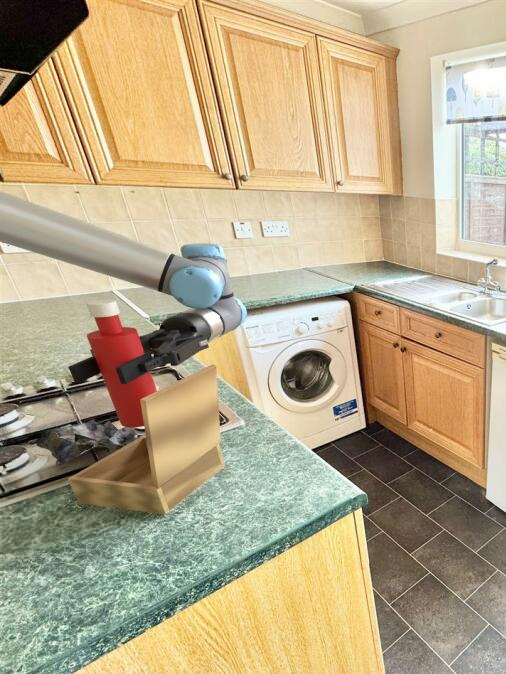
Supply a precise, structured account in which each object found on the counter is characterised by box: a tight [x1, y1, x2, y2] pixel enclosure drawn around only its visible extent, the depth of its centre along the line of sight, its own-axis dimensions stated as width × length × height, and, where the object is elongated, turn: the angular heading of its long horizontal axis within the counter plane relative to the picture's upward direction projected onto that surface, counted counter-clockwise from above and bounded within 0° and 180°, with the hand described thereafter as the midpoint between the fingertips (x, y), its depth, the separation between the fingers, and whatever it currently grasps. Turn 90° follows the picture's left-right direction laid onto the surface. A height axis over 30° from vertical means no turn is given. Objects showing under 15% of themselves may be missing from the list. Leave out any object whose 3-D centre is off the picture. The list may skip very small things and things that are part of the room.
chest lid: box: [140, 364, 222, 488], centre depth 69 cm, size 16×14×1 cm
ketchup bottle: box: [86, 298, 158, 429], centre depth 69 cm, size 6×6×21 cm
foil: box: [35, 419, 146, 467], centre depth 82 cm, size 12×11×15 cm
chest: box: [67, 434, 226, 515], centre depth 75 cm, size 16×14×6 cm
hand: (97, 375), depth 65 cm, fingers closed on ketchup bottle, 6 cm apart
